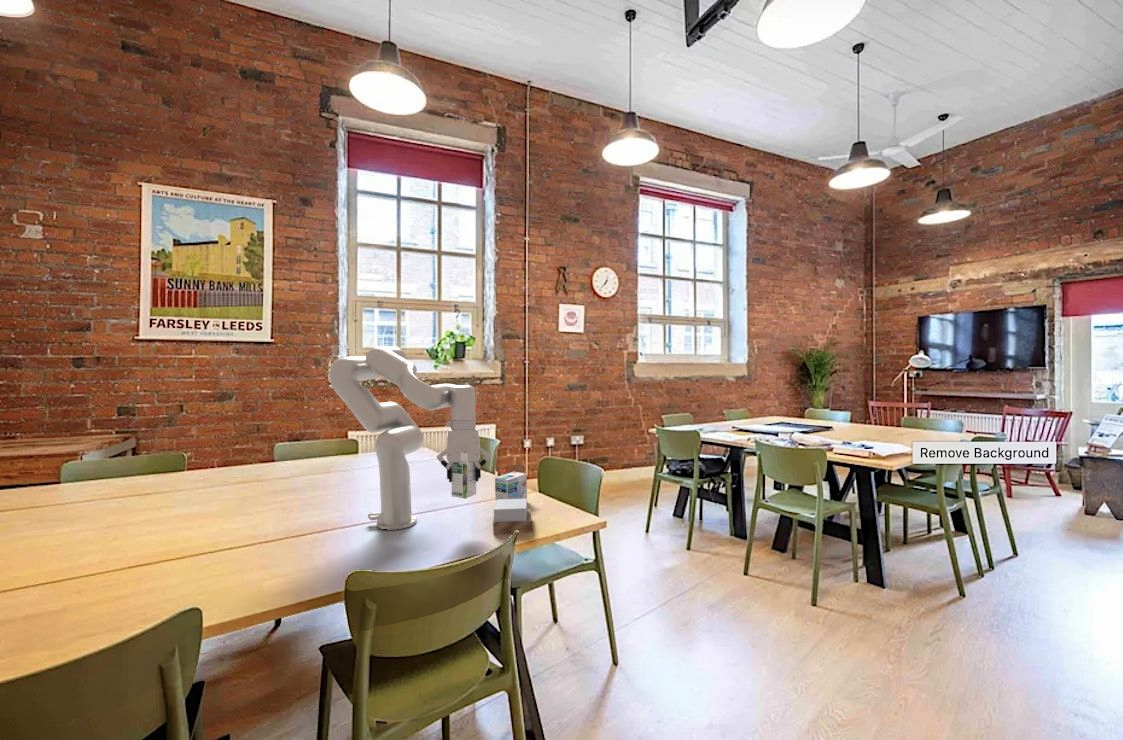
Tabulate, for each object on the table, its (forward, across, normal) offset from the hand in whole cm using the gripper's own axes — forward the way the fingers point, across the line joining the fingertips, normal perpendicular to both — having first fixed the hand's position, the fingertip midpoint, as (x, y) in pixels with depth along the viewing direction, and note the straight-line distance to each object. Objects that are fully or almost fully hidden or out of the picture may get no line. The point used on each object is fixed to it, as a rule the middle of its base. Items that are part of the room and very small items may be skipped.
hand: (464, 480), depth 156 cm
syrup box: (+5, 0, 0) cm, 5 cm away
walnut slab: (+16, +15, +2) cm, 22 cm away
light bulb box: (+16, +15, +25) cm, 33 cm away
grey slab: (+12, +15, +1) cm, 19 cm away
